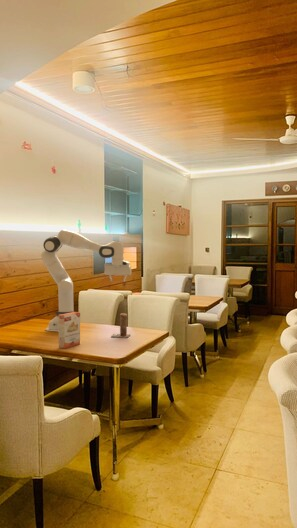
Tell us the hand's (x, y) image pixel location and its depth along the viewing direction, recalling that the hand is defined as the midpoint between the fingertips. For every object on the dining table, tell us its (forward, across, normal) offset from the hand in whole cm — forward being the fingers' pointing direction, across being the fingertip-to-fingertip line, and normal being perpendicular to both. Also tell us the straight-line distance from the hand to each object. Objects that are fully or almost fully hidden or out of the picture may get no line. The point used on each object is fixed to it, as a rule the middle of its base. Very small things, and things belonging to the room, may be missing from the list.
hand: (117, 281), depth 289 cm
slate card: (+37, +6, -17) cm, 41 cm away
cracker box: (+37, -20, -47) cm, 63 cm away
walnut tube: (+36, +8, -17) cm, 41 cm away
